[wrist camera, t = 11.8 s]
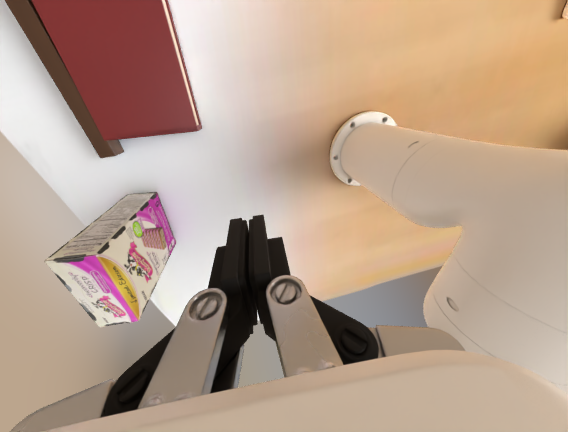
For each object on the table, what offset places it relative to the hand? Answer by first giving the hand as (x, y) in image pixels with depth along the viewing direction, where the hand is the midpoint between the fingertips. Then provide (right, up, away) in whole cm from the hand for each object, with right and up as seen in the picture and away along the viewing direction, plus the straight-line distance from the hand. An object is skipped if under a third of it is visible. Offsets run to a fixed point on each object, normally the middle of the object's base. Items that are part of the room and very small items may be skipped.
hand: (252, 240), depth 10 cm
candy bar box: (-22, +1, +26) cm, 34 cm away
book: (-17, +20, +15) cm, 30 cm away
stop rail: (-24, +19, +14) cm, 34 cm away
